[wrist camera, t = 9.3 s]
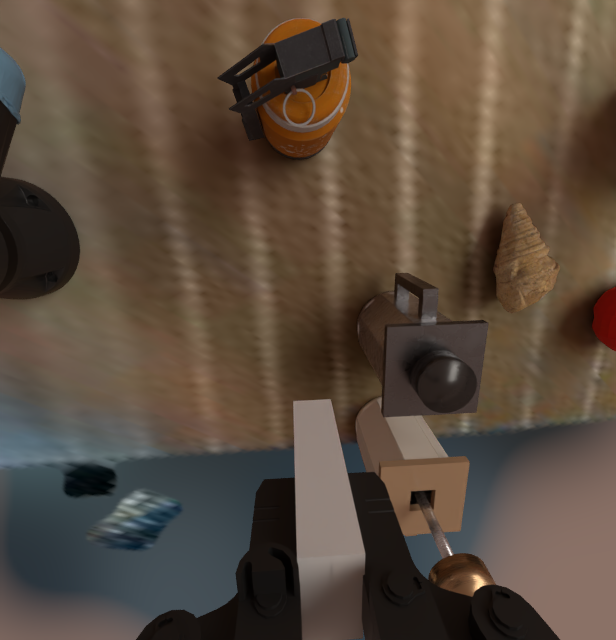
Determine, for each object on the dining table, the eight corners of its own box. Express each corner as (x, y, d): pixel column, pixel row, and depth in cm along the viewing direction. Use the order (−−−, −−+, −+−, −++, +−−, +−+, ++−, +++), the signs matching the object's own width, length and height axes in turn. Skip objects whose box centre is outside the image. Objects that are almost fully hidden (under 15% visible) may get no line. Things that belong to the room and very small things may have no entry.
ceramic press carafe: (354, 467, 59) (377, 556, 44) (355, 396, 55) (381, 467, 40) (414, 463, 60) (457, 550, 44) (419, 393, 55) (469, 462, 40)
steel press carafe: (356, 358, 53) (383, 417, 38) (357, 270, 49) (388, 296, 34) (422, 355, 54) (476, 412, 38) (429, 267, 49) (492, 292, 34)
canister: (342, 146, 44) (383, 95, 25) (261, 176, 45) (241, 148, 26) (320, 68, 42) (347, -55, 22) (234, 100, 42) (189, 7, 23)
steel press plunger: (371, 357, 49) (409, 422, 34) (373, 308, 47) (413, 354, 32) (421, 355, 50) (480, 418, 34) (425, 306, 48) (489, 351, 32)
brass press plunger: (382, 497, 47) (427, 636, 31) (384, 452, 44) (434, 578, 29) (434, 494, 47) (504, 629, 32) (439, 449, 45) (516, 572, 30)
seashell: (468, 215, 48) (503, 216, 40) (526, 196, 47) (572, 192, 40) (484, 306, 52) (518, 322, 44) (537, 289, 51) (581, 302, 44)
